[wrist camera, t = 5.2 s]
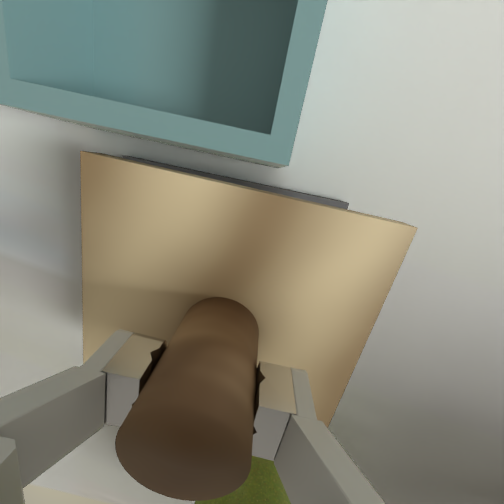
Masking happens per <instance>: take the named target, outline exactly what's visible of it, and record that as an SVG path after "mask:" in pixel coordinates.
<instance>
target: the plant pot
mask: <svg viewBox="0 0 504 504" xmlns="http://www.w3.org/2000/svg"><path fill="white" fill-rule="evenodd" d="M195 504H291V503H290V500H289V498H288V496H287V493H286V491H285V488H284V486H283V484H282V481H281V479H280V477H279V474H278V472H277V470H276V467H275V465H274V461H271V460H267V459H264V458H260V457H256V456H252V461H251V469H250V473H249V475H248V477H247V479H246V480H245V482H244V483H243V484H242V485H241V486H240V487H239V488H238V489H236V490H235V491H233V492H232V493H230V494H228V495H225V496H223V497H220V498H216V499H211V500H203V501H195Z"/></svg>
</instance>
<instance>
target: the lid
mask: <svg viewBox="0 0 504 504" xmlns="http://www.w3.org/2000/svg"><path fill="white" fill-rule="evenodd" d="M80 161H81V231H82V302H83V364H84V363H85V362H86V361H87V360H88V359H89V358H90V357H91V356H92V355H93V354H94V353H95V352H96V351H97V350H98V349H99V348H100V347H101V345H102V344H103V343H104V342H105V341H106V340H107V339H108V338H109V337H110V336H111V335H112V334H113V333H114V332H115V331H117V330H119V329H122V330H126V331H130V332H134V333H140V334H144V335H148V336H152V337H156V338H160V339H164V340H166V341H167V347H166V349H165V351H164V353H163V354H162V356H161V358H160V360H159V361H158V363H157V365H156V366H155V368H154V370H153V372H152V373H151V375H150V377H149V379H148V380H147V382H146V384H145V385H144V387H143V389H142V391H141V392H140V394H139V396H138V398H137V399H136V401H135V403H134V404H133V406H132V408H131V410H130V411H129V413H128V415H127V416H126V418H125V420H124V422H123V423H122V425H121V427H120V429H119V430H118V433H117V436H116V441H115V447H116V453H117V456H118V458H119V461H120V463H121V464H122V466H123V467H124V469H125V470H126V471H127V472H128V473H129V474H130V475H131V476H132V477H133V478H134V479H135V480H136V481H137V482H139V483H140V484H142V485H143V486H145V487H147V488H148V489H150V490H152V491H154V492H157V493H159V494H162V495H164V496H167V497H171V498H175V499H181V500H189V501H203V500H211V499H216V498H220V497H223V496H225V495H228V494H230V493H232V492H233V491H235V490H236V489H238V488H239V487H240V486H241V485H242V484H243V483H244V482H245V480H246V479H247V477H248V475H249V473H250V469H251V461H252V443H253V426H254V407H255V391H256V373H257V366H258V363H259V361H262V362H267V363H272V364H276V365H281V366H286V367H289V368H290V367H292V368H297V369H301V370H306V372H307V373H308V378H309V383H310V388H311V393H312V398H313V403H314V408H315V412H316V417H317V420H319V421H322V422H323V423H324V424H325V425H326V427H327V428H328V426H329V423H330V421H331V419H332V417H333V415H334V412H335V410H336V408H337V406H338V403H339V401H340V399H341V397H342V395H343V392H344V390H345V388H346V386H347V384H348V381H349V379H350V377H351V375H352V372H353V370H354V368H355V366H356V364H357V361H358V359H359V357H360V355H361V352H362V350H363V348H364V346H365V344H366V341H367V339H368V337H369V335H370V333H371V330H372V328H373V326H374V324H375V321H376V319H377V317H378V315H379V313H380V310H381V308H382V306H383V304H384V301H385V299H386V297H387V295H388V293H389V290H390V288H391V286H392V284H393V281H394V279H395V277H396V275H397V273H398V270H399V268H400V266H401V264H402V262H403V259H404V257H405V255H406V253H407V250H408V248H409V246H410V244H411V242H412V239H413V237H414V235H415V233H416V230H417V228H416V227H414V226H411V225H408V224H405V223H403V222H399V221H395V220H391V219H386V218H382V217H377V216H373V215H369V214H364V213H360V212H356V211H351V210H347V209H343V208H338V207H334V206H329V205H325V204H321V203H316V202H312V201H308V200H303V199H299V198H294V197H290V196H286V195H281V194H277V193H273V192H268V191H264V190H259V189H255V188H251V187H246V186H242V185H238V184H233V183H229V182H224V181H220V180H216V179H211V178H207V177H203V176H198V175H194V174H189V173H185V172H181V171H176V170H172V169H168V168H163V167H159V166H155V165H150V164H146V163H141V162H137V161H133V160H128V159H124V158H120V157H115V156H111V155H106V154H102V153H94V152H86V151H80Z"/></svg>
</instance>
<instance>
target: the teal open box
mask: <svg viewBox="0 0 504 504" xmlns="http://www.w3.org/2000/svg"><path fill="white" fill-rule="evenodd" d="M327 1H328V0H0V105H4V106H8V107H12V108H16V109H20V110H23V111H27V112H31V113H35V114H39V115H43V116H47V117H51V118H54V119H58V120H62V121H66V122H70V123H74V124H78V125H81V126H85V127H89V128H93V129H98V130H103V131H108V132H112V133H117V134H122V135H126V136H131V137H136V138H140V139H145V140H150V141H154V142H159V143H164V144H168V145H173V146H178V147H182V148H187V149H192V150H196V151H201V152H206V153H210V154H215V155H220V156H224V157H229V158H234V159H239V160H243V161H248V162H253V163H257V164H262V165H267V166H271V167H276V168H281V167H285V166H289V162H290V157H291V153H292V149H293V145H294V141H295V136H296V132H297V128H298V124H299V119H300V115H301V111H302V107H303V102H304V98H305V94H306V90H307V85H308V81H309V77H310V73H311V68H312V64H313V60H314V56H315V51H316V47H317V43H318V39H319V34H320V30H321V26H322V22H323V18H324V13H325V9H326V5H327Z"/></svg>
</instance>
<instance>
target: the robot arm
mask: <svg viewBox="0 0 504 504" xmlns="http://www.w3.org/2000/svg"><path fill="white" fill-rule="evenodd" d="M166 347H167V341H166V340H164V339H160V338H156V337H152V336H148V335H144V334H140V333H134V332H130V331H126V330H122V329H119V330H117V331H115V332H114V333H113V334H112V335H111V336H110V337H109V338H108V339H107V340H106V341H105V342H104V343H103V344H102V345H101V347H100V348H99V349H98V350H97V351H96V352H95V353H94V354H93V355H92V356H91V357H90V358H89V359H88V360H87V361H86V362H85V363H84V364H83V365H82V366H81V367H76V366H75V367H72V368H70V369H67V370H65V371H63V372H60V373H58V374H56V375H53V376H51V377H49V378H46V379H44V380H42V381H39V382H37V383H35V384H32V385H30V386H28V387H25V388H23V389H21V390H18V391H16V392H14V393H11V394H9V395H7V396H4V397H2V398H0V504H25V500H24V494H23V488H24V487H25V486H27V485H28V484H29V483H30V482H32V481H33V480H34V479H36V478H37V477H38V476H40V475H41V474H42V473H44V472H45V471H46V470H47V469H49V468H50V467H51V466H53V465H54V464H55V463H57V462H58V461H59V460H61V459H62V458H63V457H64V456H66V455H67V454H68V453H70V452H71V451H72V450H74V449H75V448H76V447H78V446H79V445H80V444H81V443H83V442H84V441H85V440H87V439H88V438H89V437H91V436H92V435H93V434H94V433H96V432H97V431H98V430H100V429H101V428H102V427H104V424H108V425H113V426H119V427H121V425H122V423H123V422H124V420H125V418H126V416H127V415H128V413H129V411H130V410H131V408H132V406H133V404H134V403H135V401H136V399H137V398H138V396H139V394H140V392H141V391H142V389H143V387H144V385H145V384H146V382H147V380H148V379H149V377H150V375H151V373H152V372H153V370H154V368H155V366H156V365H157V363H158V361H159V360H160V358H161V356H162V354H163V353H164V351H165V349H166ZM252 456H256V457H260V458H264V459H267V460H271V461H274V465H275V467H276V470H277V472H278V474H279V477H280V479H281V481H282V484H283V486H284V488H285V491H286V493H287V496H288V498H289V500H290V503H291V504H385V502H384V501H383V500H382V498H381V497H380V496H379V494H378V493H377V492H376V491H375V489H374V488H373V487H372V485H371V484H370V483H369V481H368V480H367V479H366V478H365V476H364V475H363V474H362V472H361V471H360V470H359V468H358V467H357V466H356V465H355V463H354V462H353V461H352V459H351V458H350V457H349V455H348V454H347V453H346V451H345V450H344V449H343V448H342V446H341V445H340V444H339V442H338V441H337V440H336V438H335V437H334V436H333V435H332V433H331V432H330V431H329V429H328V428H327V427H326V425H325V424H324V423H323V422H322V421H319V420H317V417H316V412H315V408H314V403H313V398H312V393H311V388H310V383H309V378H308V373H307V372H306V370H301V369H297V368H292V367H290V368H289V367H286V366H281V365H276V364H272V363H267V362H262V361H259V363H258V366H257V373H256V391H255V407H254V426H253V443H252Z"/></svg>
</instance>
